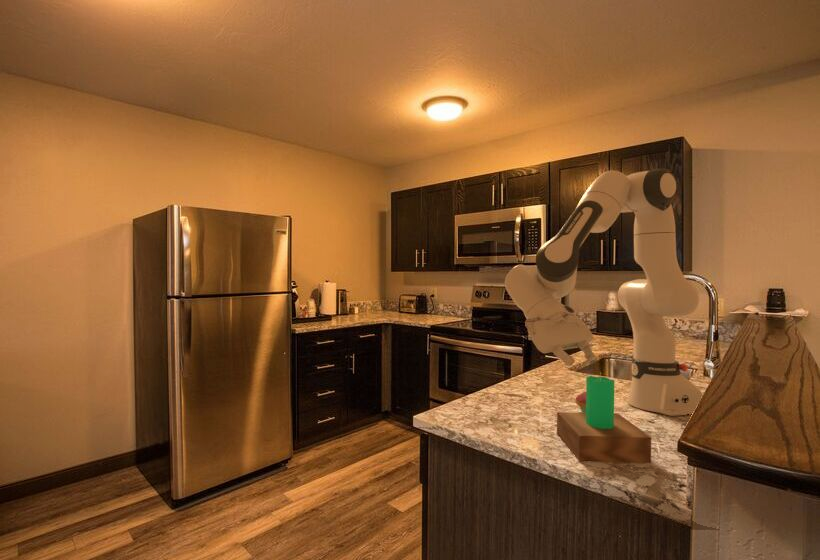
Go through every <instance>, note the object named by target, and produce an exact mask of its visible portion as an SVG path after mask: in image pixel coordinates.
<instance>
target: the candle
mask: <svg viewBox="0 0 820 560" xmlns="http://www.w3.org/2000/svg"><path fill="white" fill-rule="evenodd" d="M585 382H586V383H585V384H586V385H585V388H586V389H585V392H586V423H587V424H588V425H589V426H592V427H595V428H601V429H611V428H613V427H614V414H615V379H610V378H609V377H606V376H602V372H601V371H600V372H599V376H594V375H589V376H586V381H585Z"/></svg>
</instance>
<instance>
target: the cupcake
mask: <svg viewBox="0 0 820 560" xmlns="http://www.w3.org/2000/svg"><path fill="white" fill-rule="evenodd" d="M575 403H576V405H577V406H578V407H579V408H580V411H581V413H586V391H584V392H582V393H579V394H578V395H577V396H576V397H575Z"/></svg>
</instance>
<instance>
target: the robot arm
mask: <svg viewBox="0 0 820 560" xmlns="http://www.w3.org/2000/svg"><path fill="white" fill-rule="evenodd" d="M677 190H678V181H677V179H676V176H675V175H674V174H673V173H672V171H670V170H669V169H666V168H652V169H650V170H645V171H638V172H637V171H636V172H634V173H630V174H629V175H626V174H624V173H623V172H621V171H618V170H607V171H604V172H602V173H601V174H600V175H599V176H598V177H597V178H596V179H595V180H594V181H592V183H591V184H590V185H589V186H588V188H587V189H586V191H584V193H583V194H582V197H581V198H580V200H579V202H578V204H577V206H576V207H575V210H573V212H572V213H571V215H570V216H569V218H568V219H567V220H566V222H565V223H564V225H563V226H562V227H561V229H560V230H559V232H558V233H557V234H556V235H555V236H553V237H552V238H551V239H550V240H548V241H546V242H545V243H544V244H542V245H541V246H540V248H539V249H538V250H537V252H536V255H535V265H524V264H517V265H515V266H514V267H512V268H511V269H510V270H509V271H508V272H507V274H506V276H505V279H504V287H505V290H506V292H507V293H508V295H509V296H510V299H512V301H513V303H514V304H515V305H516V306H517V308H519V309H520V310H521V311H522V312H523V315H524V316H525V318H526V319H525V322H524V325H525V328H527V333H528V335H529V337H530V339H531V341H532V343H533V344H534V346H535V347H536V349H537V350H538V351H539V352H540V353H543V354H548V353H553V355H554V356H555V357H557V358H558V359H559V360H561V361H562V362H563V363H564V364H565V366H566V367H570V366H573V364H575V362H576V360H575V359H574V358H573V356H572V355H569V354H568V353H567V352H566V350H571V349H577V348H579V349H580V350H581V351H583V354H584V355H583V357H584V358H585V359H586V361H588V362H591V361H594V360H595V359H596V357H597V356H596V354H595V353H594V352H593V350H592V347H591V344H590V343H591V342H593V340H594V335H593V333H592V331H591V330H590V329H589V328H588V326H587V325H586V323H585V322H584V321H583V320H582V319H581V318H580V317H579V316H578V315H576V314H577V311H576V310H575V309H574V308H573V307H571V306H568V305H565V304H563V303H561V302H559V301H558V300H561V299H562V298H563V297H566V296H569V295H570V294H571V293H572V292H573V291H574V289H575V286H576V283H577V273H578V265H579V260H580V259H579V258H580V248H581V246H582V245H583V243H584V242H585V240H586V239H587V237H588V236H589V235H590V233H593V234H600V233H604V232H606V231H607V230H609V229H610V227H612V225H613V224H614V223H615V221H617V218H618V217H619V216H620V214H621V213H622V214H623V213H633V214H634V215H635V216H634V223H633V259H634V261H635V263H636V264H638V265H639V266H640V267H641V268H642V270H643V272H644V274H645V277H646V278H645V279H644V278H639V279H634V280H630V281H626V282H624V283H622V285H620V287H619V289H618V291H617V300H618V303H619V305H620V306H621V307H622V308H623V310H624V311H625V312H626V314H627V316H628V320H629V321H630V325H631V329H632V336H633V337H632V338H633V356H632V358H631V375H632V377H631V384H630V390H629V393H628V396H627V399H626V403H627V404H628V405H630V406H631V407H635V408H636V409H640V410H644V411H647V412H648V411H649V412H653V413H658V414H662V415H666V416H671V417H672V416H690V415H691V414H692V413H693V411H694V409H695V408H696V406H697V404H698V402H699V401H700V399H701V397H703V393H702V391H701V389H700V388H699V387H698V386H696V384H694V383H693V382H692V381H690V380H689V379H687V378H686V377H685V376H684V375H682V372H681V371H683V372H685V373H686V372H688V371H689V368H690V367H689V366H688V365H687V364H685V363H679V362H677V361H676V336H675V334H674V333H673V332H672V330H670V328H668V326H667V325H666V322H665V320H664V317H667V318H668V317H670V318H675V317H677V318H678V317H684V316H689V315H691V314H693V313H694V312H695V311H696V309H697V307H698V305H699V302H700V295H699V293H698V290H697V288H696V287H695V286H694V285H693V284H692V283H690V282H689V281H688V279H687V278H686V277H685V276H684V273H683V271H682V269H681V267H680V265H679V262H678V257H677V239H676V238H677V237H676V220H675V215H674V210H673V206H672V203H673V200H674V199H675V197H676V194H677ZM687 414H689V415H687ZM691 416H692V415H691Z"/></svg>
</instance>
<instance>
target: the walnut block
mask: <svg viewBox="0 0 820 560" xmlns="http://www.w3.org/2000/svg"><path fill="white" fill-rule="evenodd" d="M556 435H557V436H558V438H559V437H560V438H561V439H560V440H561V441H562V442H563V443H565V444H564V445H565V446H566V448H568V450H569V449H570V450H569V451H570V452H571V454H574V455H575V456H574V455H573V456H574V457H575V459H577V461H578V460H579V461H578V462H584V461H591V462H592V461H593V462H592V463H616V462H624V463H625V464H647V463H651V462H652V437H651V436H650V435H649V434H647V433H646V432H644V431H643V430H641V429H640V428H639V427H638V426H636V425H635V424H633V423H632V422H630V421H629V420H628V419H626V418H625V417H623V416H622V415H621V414H619V413H614V427H613V428H611V429H601V428H595V427H592V426H589V425H588V424H587V423H586V413H582V412H571V411H570V412H568V411H567V412H566V411H557V412H556ZM591 462H590V463H591ZM624 463H623V464H624Z"/></svg>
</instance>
